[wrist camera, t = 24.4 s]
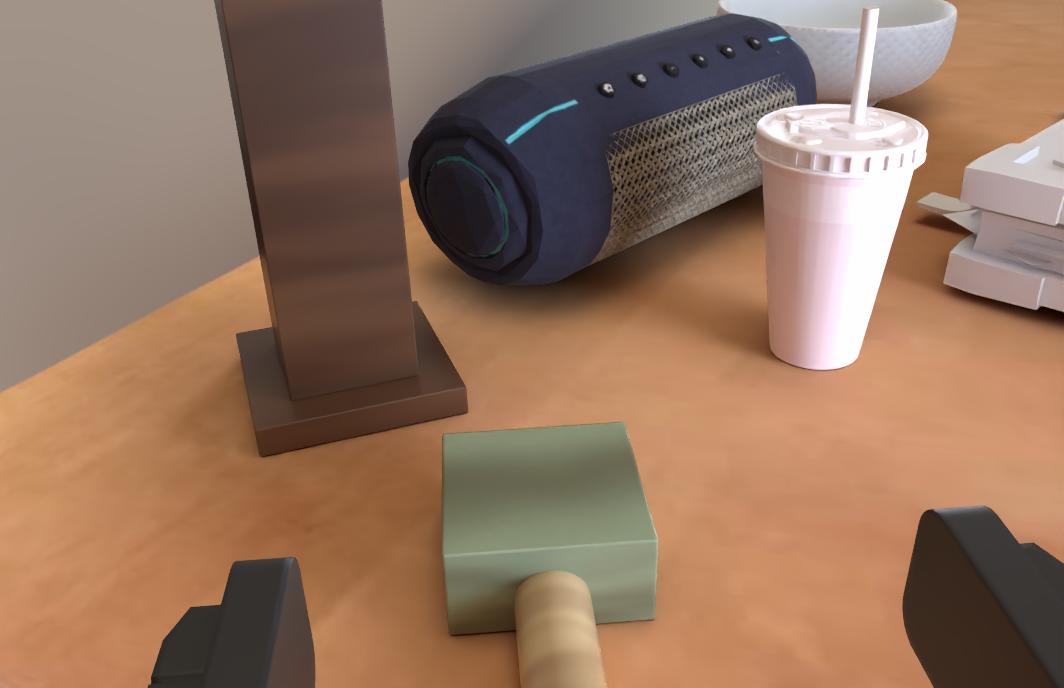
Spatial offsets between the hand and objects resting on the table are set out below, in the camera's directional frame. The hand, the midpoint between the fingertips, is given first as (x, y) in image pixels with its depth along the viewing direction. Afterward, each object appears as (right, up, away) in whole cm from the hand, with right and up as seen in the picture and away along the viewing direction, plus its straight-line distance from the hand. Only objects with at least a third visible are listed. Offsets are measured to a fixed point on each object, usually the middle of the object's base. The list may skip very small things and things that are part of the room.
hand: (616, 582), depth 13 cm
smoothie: (+11, +3, +30) cm, 32 cm away
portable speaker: (+5, +9, +42) cm, 43 cm away
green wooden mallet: (0, -6, +14) cm, 16 cm away
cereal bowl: (+21, +21, +63) cm, 69 cm away
